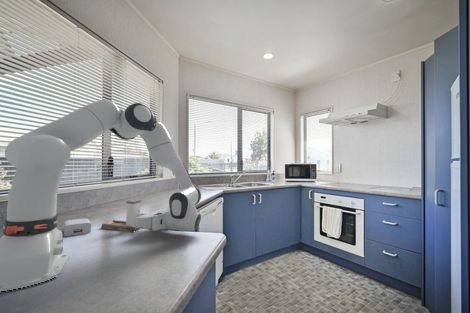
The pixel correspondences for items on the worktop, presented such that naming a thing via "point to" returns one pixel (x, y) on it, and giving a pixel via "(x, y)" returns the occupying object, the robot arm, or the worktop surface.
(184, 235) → the worktop surface
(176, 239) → the worktop surface
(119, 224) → the track
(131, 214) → the white upright block
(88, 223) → the charger
